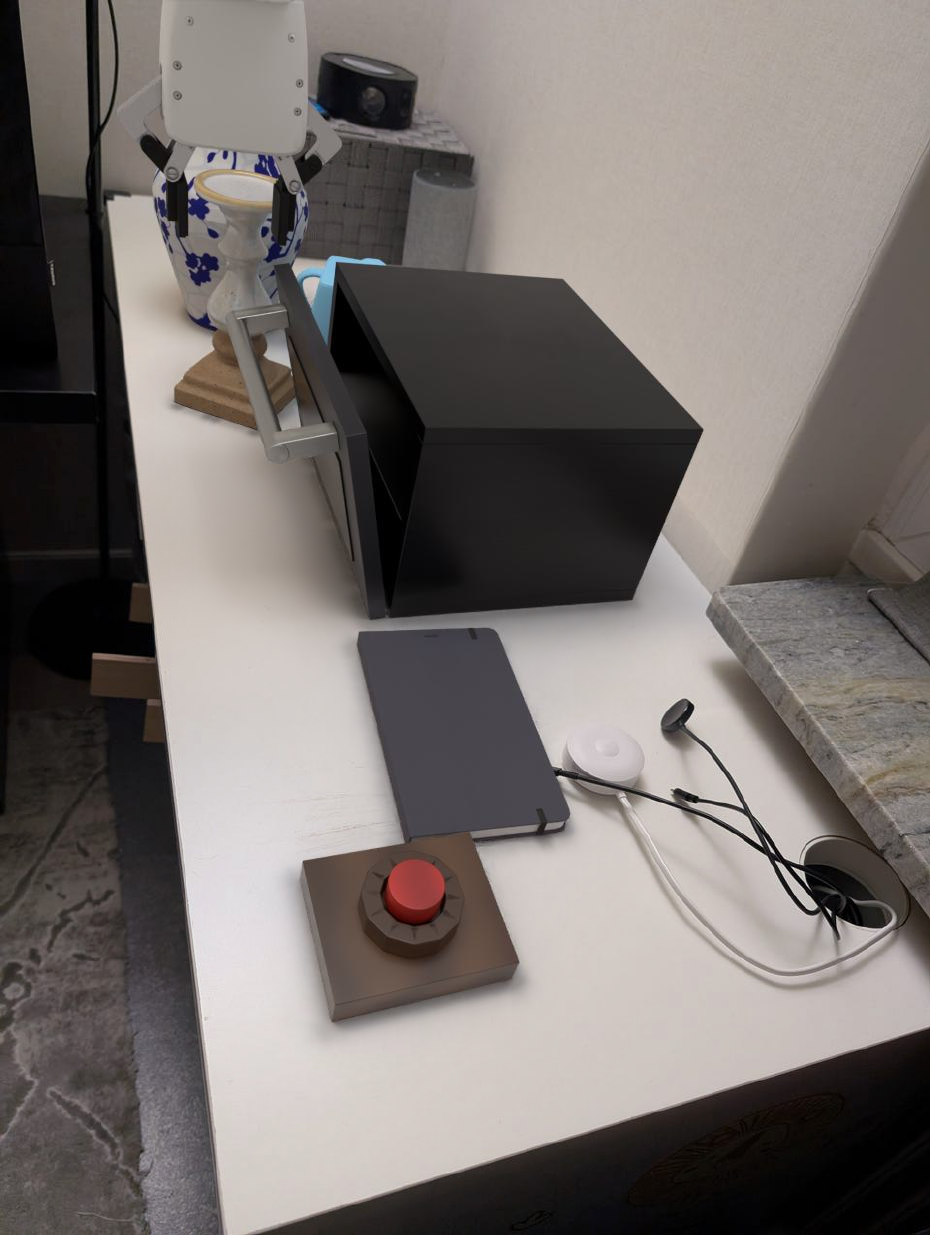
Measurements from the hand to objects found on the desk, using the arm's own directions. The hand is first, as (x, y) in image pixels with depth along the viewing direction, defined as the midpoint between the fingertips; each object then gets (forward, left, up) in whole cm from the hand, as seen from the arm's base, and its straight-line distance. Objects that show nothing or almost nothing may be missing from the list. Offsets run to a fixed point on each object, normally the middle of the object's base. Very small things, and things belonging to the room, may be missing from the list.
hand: (230, 233), depth 71 cm
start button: (+36, -29, -24) cm, 52 cm away
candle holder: (-13, +21, -28) cm, 37 cm away
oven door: (+6, +6, -28) cm, 30 cm away
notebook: (+32, -11, -28) cm, 44 cm away
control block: (+36, -29, -28) cm, 54 cm away
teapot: (-6, +40, -28) cm, 49 cm away
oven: (+18, +18, -28) cm, 38 cm away
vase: (-27, +38, -28) cm, 54 cm away
